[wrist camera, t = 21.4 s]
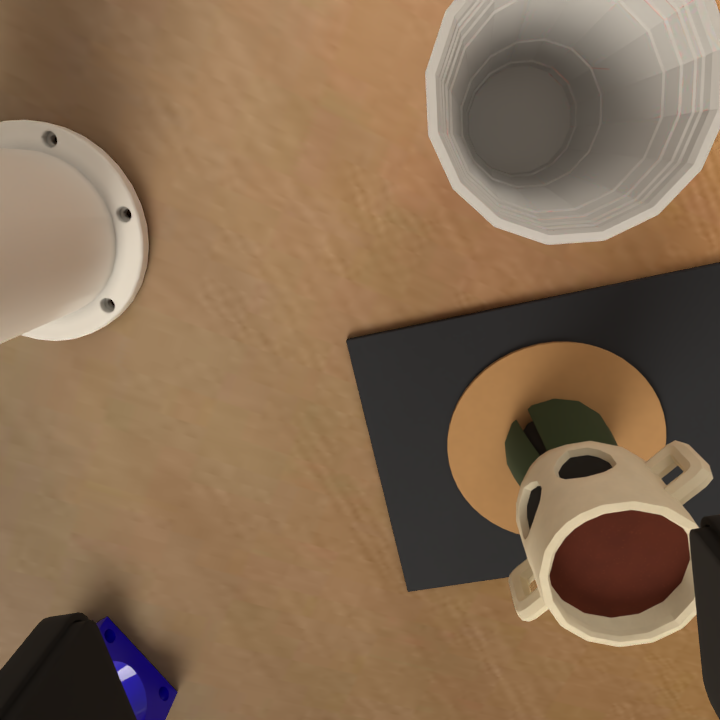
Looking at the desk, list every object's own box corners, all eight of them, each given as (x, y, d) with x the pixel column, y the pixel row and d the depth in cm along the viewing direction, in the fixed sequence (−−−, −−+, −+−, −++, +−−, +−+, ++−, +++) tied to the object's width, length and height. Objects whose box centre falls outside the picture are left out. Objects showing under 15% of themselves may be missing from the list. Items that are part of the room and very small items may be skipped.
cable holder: (73, 637, 46) (42, 679, 42) (107, 616, 45) (79, 657, 41) (143, 711, 48) (119, 758, 44) (177, 692, 47) (156, 738, 43)
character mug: (584, 341, 36) (676, 433, 24) (666, 421, 37) (796, 550, 25) (449, 463, 39) (468, 602, 26) (529, 534, 40) (583, 700, 27)
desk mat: (407, 588, 43) (407, 594, 42) (346, 338, 38) (345, 341, 37) (749, 537, 40) (754, 544, 39) (730, 259, 35) (736, 261, 34)
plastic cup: (669, 73, 32) (812, 21, 21) (548, 256, 35) (615, 298, 24) (489, -41, 31) (536, -161, 20) (382, 158, 34) (368, 152, 23)
